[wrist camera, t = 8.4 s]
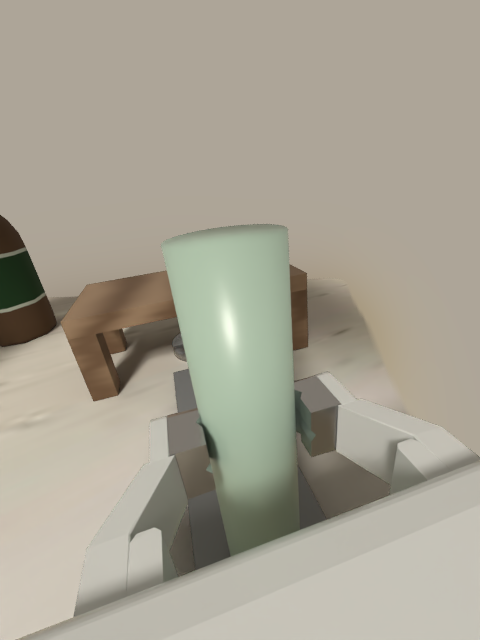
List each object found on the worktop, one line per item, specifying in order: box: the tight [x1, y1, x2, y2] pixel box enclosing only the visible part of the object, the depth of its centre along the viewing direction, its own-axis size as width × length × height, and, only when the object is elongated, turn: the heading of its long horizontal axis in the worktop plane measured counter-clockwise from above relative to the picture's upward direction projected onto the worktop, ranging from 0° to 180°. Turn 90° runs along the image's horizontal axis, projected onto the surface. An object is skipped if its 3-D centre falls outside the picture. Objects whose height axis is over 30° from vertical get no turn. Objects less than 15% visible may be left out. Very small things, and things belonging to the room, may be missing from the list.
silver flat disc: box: [172, 333, 187, 361], centre depth 31 cm, size 6×6×1 cm
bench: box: [60, 264, 308, 401], centre depth 30 cm, size 20×10×8 cm, turn 106°
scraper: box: [161, 224, 327, 570], centre depth 16 cm, size 17×6×14 cm, turn 15°
